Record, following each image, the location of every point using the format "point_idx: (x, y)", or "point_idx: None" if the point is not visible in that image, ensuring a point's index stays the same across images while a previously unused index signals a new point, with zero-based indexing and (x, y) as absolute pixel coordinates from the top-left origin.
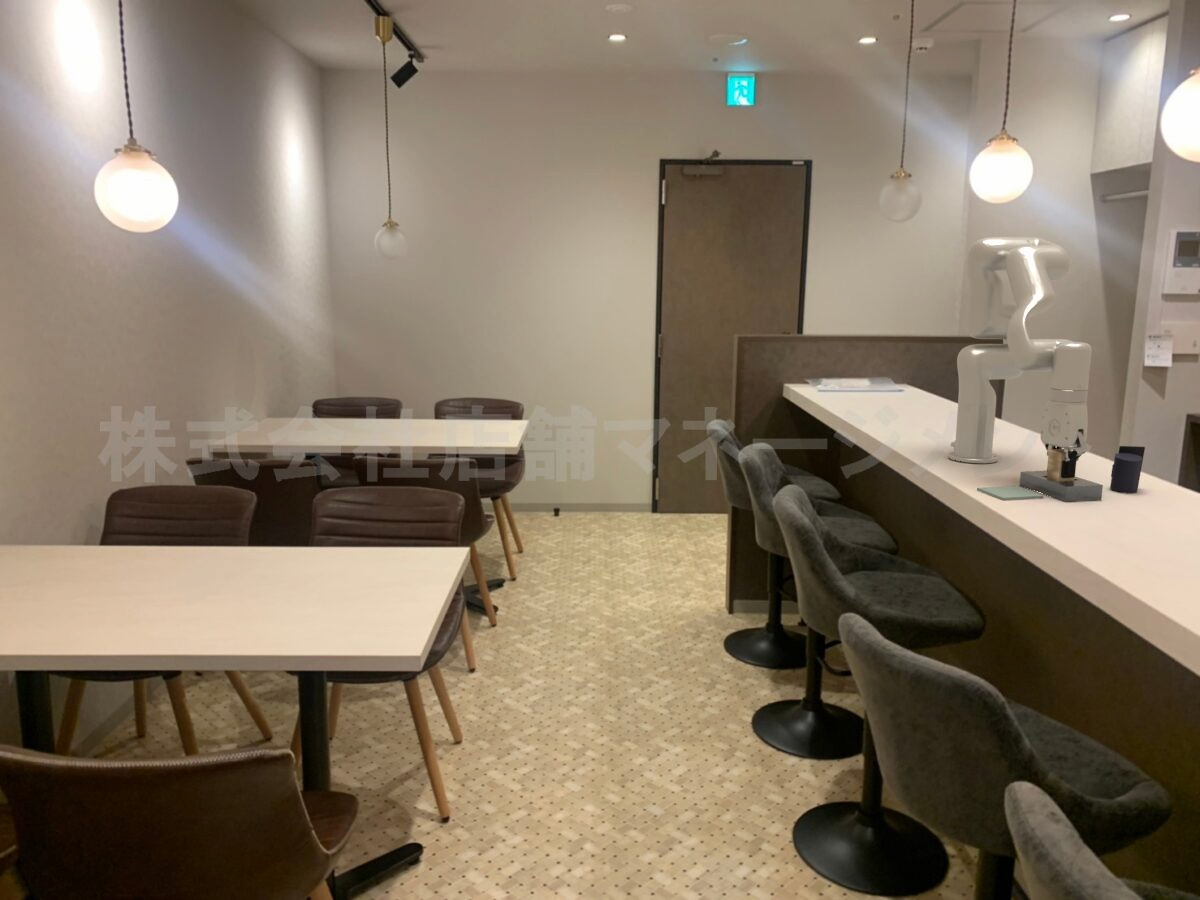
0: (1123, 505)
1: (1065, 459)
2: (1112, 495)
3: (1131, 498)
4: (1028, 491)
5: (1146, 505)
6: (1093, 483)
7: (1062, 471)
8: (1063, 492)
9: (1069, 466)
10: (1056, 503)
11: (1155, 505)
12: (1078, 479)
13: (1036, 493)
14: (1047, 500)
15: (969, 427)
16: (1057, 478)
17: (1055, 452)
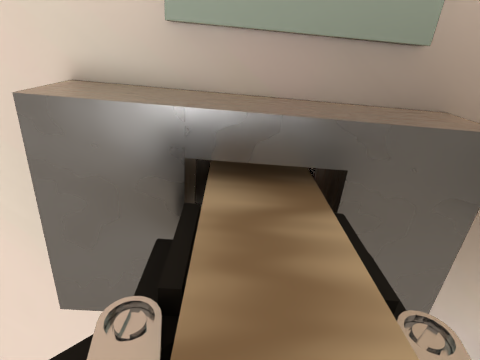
0: (7, 271)
1: (154, 314)
2: None
3: None
4: (283, 9)
5: (10, 332)
6: (99, 294)
7: (183, 225)
8: (67, 88)
9: (142, 282)
10: (45, 5)
11: (11, 353)
12: None
13: (225, 21)
14: (120, 8)
15: None
16: (217, 186)
17: (291, 348)
